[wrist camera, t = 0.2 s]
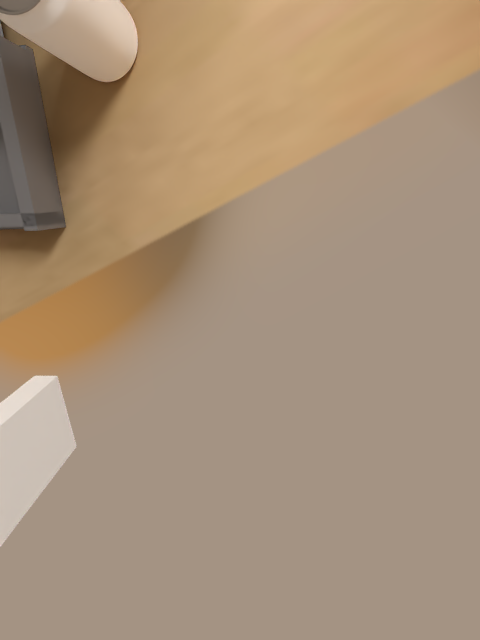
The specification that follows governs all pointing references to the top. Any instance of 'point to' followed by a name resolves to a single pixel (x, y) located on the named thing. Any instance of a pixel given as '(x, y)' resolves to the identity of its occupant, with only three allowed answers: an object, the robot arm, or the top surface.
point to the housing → (25, 147)
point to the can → (78, 33)
